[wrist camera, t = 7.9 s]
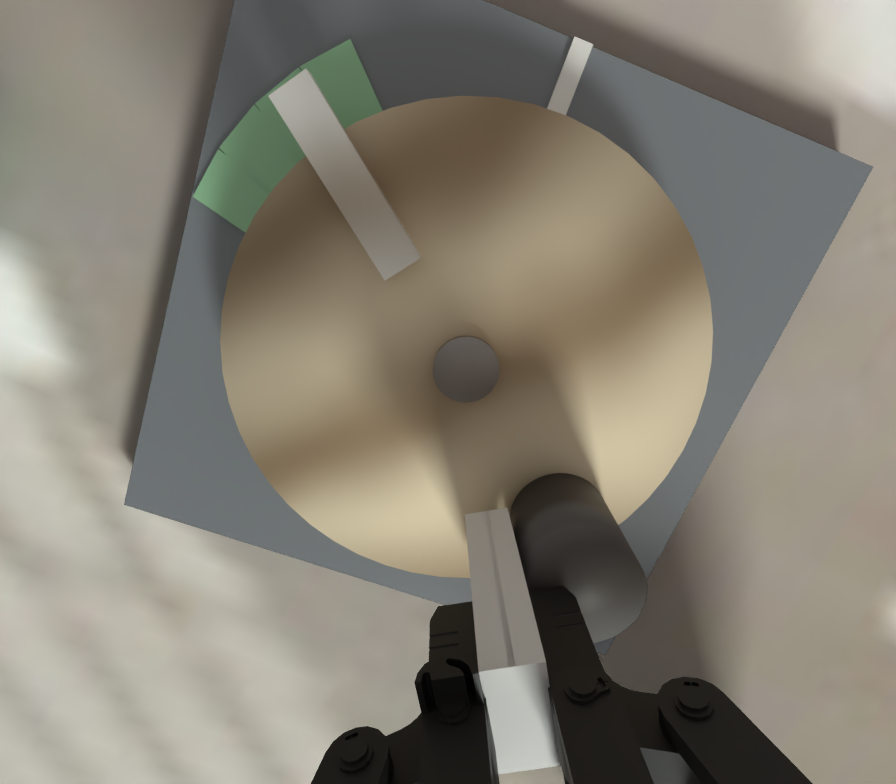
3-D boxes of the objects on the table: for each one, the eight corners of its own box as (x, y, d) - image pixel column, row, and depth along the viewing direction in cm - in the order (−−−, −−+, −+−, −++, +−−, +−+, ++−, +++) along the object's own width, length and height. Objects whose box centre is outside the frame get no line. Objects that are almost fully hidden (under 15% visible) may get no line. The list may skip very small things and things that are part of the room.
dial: (121, 237, 18) (-37, 242, 12) (529, -51, 15) (576, -215, 10) (399, 609, 22) (381, 746, 16) (755, 425, 19) (883, 508, 14)
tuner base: (145, 486, 22) (121, 507, 21) (272, -70, 17) (253, -102, 15) (596, 629, 24) (606, 658, 23) (841, 171, 19) (878, 166, 17)
